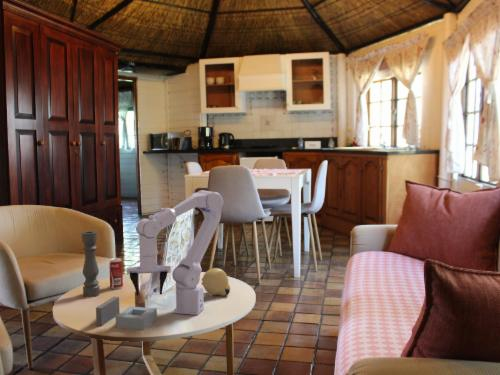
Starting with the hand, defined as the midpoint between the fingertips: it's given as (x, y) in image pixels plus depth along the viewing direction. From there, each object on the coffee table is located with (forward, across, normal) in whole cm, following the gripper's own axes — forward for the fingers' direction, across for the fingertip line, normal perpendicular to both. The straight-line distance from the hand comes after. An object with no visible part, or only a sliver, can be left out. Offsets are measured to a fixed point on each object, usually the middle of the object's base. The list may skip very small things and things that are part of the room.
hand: (149, 293), depth 166 cm
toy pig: (+9, -24, -24) cm, 35 cm away
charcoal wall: (+9, +14, -2) cm, 17 cm away
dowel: (+9, +4, -9) cm, 13 cm away
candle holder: (+9, +25, -30) cm, 40 cm away
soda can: (+9, +16, -39) cm, 43 cm away
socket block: (+9, +4, +3) cm, 11 cm away
